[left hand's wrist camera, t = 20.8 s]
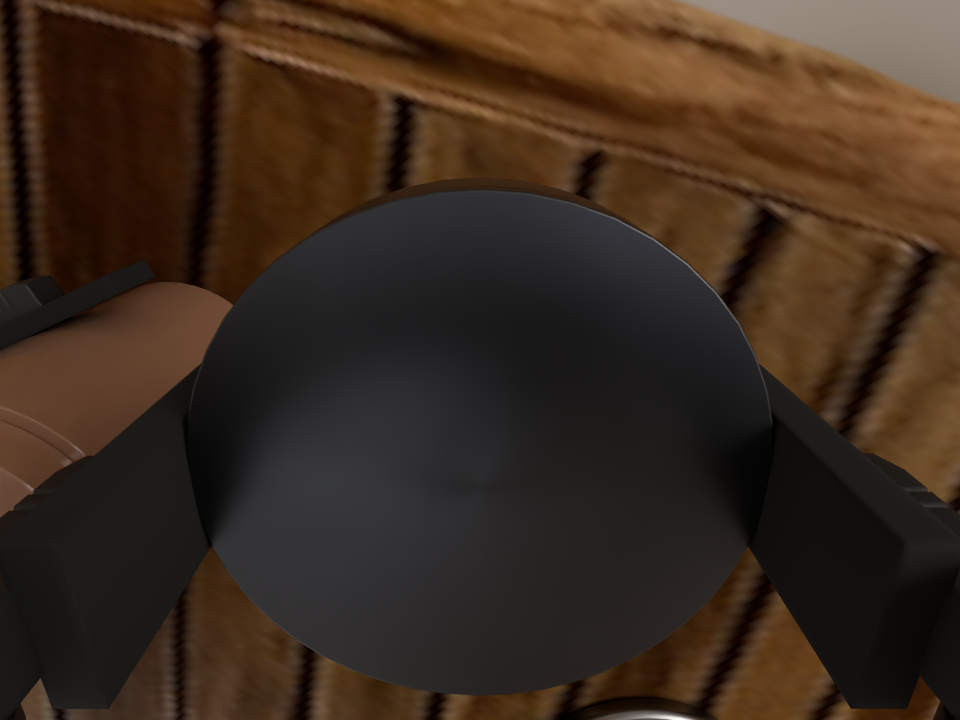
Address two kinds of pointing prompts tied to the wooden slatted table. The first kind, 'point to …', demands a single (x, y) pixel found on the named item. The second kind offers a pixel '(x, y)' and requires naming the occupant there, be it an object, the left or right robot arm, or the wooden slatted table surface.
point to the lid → (479, 439)
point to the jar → (96, 377)
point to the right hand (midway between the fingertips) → (205, 386)
